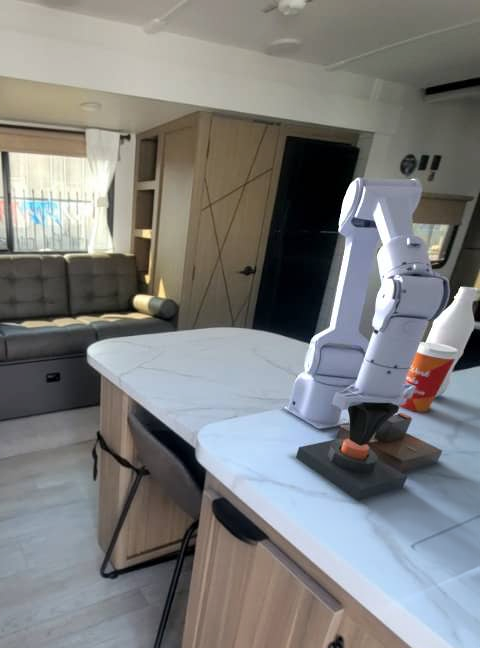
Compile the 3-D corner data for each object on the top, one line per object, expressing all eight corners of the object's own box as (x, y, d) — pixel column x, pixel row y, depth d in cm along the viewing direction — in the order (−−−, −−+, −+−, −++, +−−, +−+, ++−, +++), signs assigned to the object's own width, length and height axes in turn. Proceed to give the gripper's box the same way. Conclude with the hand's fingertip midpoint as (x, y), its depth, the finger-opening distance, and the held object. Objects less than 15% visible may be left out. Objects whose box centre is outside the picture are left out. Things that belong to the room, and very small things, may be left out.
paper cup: (385, 397, 95) (407, 339, 89) (420, 400, 94) (445, 342, 88) (403, 412, 88) (428, 351, 82) (441, 415, 87) (470, 354, 81)
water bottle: (432, 402, 93) (481, 292, 82) (399, 390, 99) (441, 285, 88) (448, 396, 96) (497, 290, 85) (416, 385, 102) (458, 284, 91)
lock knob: (384, 442, 71) (393, 421, 69) (374, 436, 73) (382, 416, 71) (404, 438, 73) (412, 417, 71) (393, 432, 74) (401, 412, 73)
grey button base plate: (295, 457, 70) (301, 438, 69) (337, 448, 74) (344, 429, 72) (357, 501, 60) (365, 479, 59) (402, 487, 64) (412, 466, 62)
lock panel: (336, 437, 77) (340, 425, 76) (373, 429, 80) (377, 417, 79) (397, 473, 67) (403, 460, 66) (437, 462, 70) (443, 449, 69)
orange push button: (335, 449, 66) (338, 440, 66) (351, 446, 68) (354, 437, 67) (355, 461, 63) (358, 452, 63) (371, 457, 65) (375, 448, 64)
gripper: (377, 377, 53) (346, 463, 59) (449, 366, 58) (413, 447, 63) (332, 359, 59) (307, 439, 65) (400, 350, 63) (372, 426, 69)
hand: (357, 441), depth 64 cm, fingers closed
